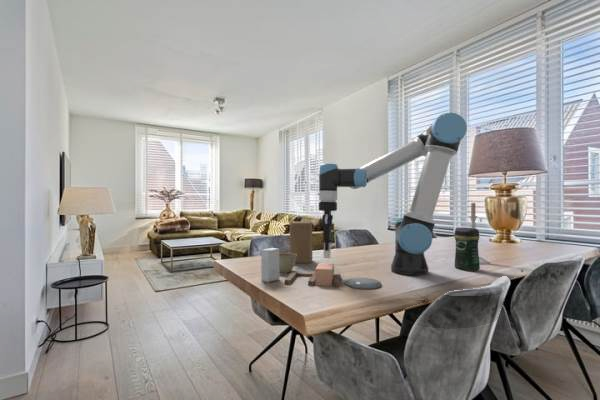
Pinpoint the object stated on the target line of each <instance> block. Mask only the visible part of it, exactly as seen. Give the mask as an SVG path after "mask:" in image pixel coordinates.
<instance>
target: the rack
mask: <svg viewBox="0 0 600 400" xmlns="http://www.w3.org/2000/svg"><path fill="white" fill-rule="evenodd" d="M297 277H310V278H309V279H308V281H307V286H311V287H313V286H314V285H315V272H313V273H311V272H310V273H309V272H307V273H306V272H297V271H291V273H290V274H289V275H288V276H287V277H286V278H284V285H291V283H292V282H294V280H295V279H296V278H297ZM341 278H342V277H341V274H340V273H334V280H333V282H332V286H331V287H332V288H338V287H339V285H340V280H341Z"/></svg>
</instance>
